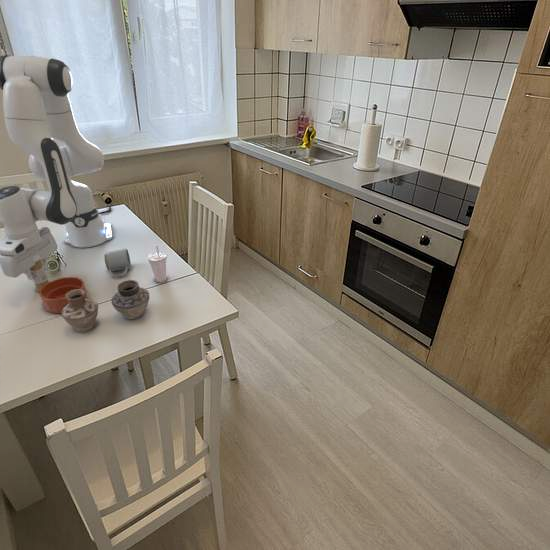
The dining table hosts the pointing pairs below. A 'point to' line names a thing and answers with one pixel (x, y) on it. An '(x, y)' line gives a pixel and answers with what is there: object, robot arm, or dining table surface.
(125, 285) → the pottery
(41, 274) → the sprinkles bottle
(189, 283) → the dining table surface
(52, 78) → the robot arm
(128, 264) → the ceramic mug
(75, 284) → the bowl
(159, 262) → the smoothie
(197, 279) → the dining table surface
